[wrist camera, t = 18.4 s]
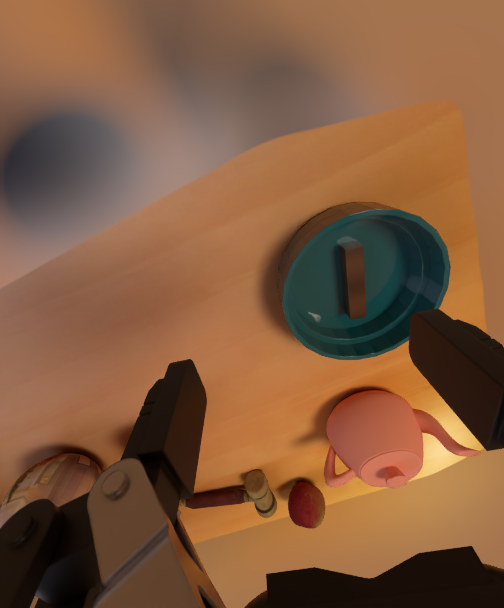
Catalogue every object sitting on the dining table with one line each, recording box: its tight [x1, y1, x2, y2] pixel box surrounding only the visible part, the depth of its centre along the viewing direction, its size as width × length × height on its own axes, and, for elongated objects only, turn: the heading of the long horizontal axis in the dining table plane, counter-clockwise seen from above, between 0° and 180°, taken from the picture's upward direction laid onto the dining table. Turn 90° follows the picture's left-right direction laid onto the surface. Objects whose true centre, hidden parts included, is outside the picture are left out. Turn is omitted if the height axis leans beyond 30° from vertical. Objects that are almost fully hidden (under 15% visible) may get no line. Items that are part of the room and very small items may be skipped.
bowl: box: [277, 202, 451, 360], centre depth 34 cm, size 19×19×6 cm
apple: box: [288, 482, 325, 528], centre depth 56 cm, size 8×8×8 cm
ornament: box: [0, 454, 102, 528], centre depth 47 cm, size 15×15×15 cm
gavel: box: [180, 470, 277, 518], centre depth 58 cm, size 21×5×10 cm
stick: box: [339, 241, 366, 319], centre depth 35 cm, size 10×2×2 cm, turn 13°
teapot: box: [324, 390, 481, 488], centre depth 44 cm, size 22×15×12 cm
